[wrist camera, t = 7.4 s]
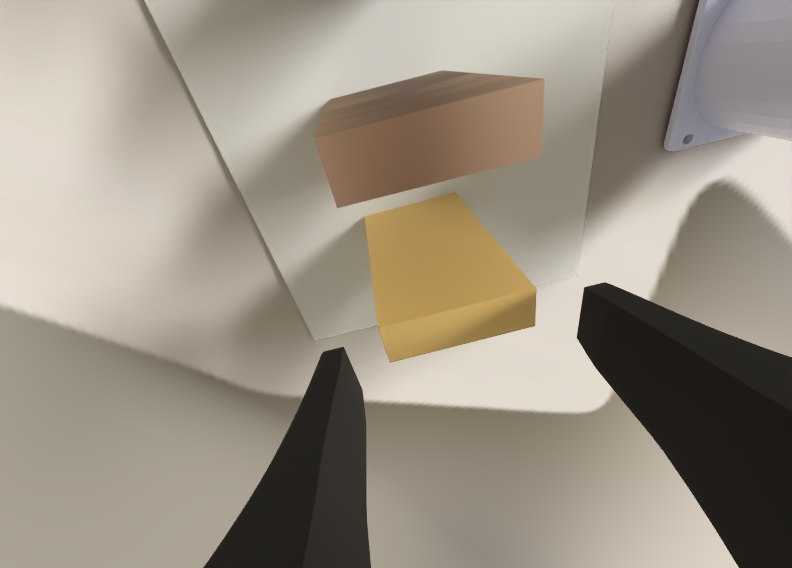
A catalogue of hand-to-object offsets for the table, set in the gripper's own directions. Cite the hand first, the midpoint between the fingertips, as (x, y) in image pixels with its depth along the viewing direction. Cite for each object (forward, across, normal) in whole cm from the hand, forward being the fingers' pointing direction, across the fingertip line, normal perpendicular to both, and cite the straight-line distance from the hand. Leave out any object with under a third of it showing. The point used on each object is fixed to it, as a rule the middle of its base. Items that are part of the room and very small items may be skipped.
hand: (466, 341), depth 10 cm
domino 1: (+10, 0, -6) cm, 11 cm away
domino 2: (+10, 0, 0) cm, 10 cm away
